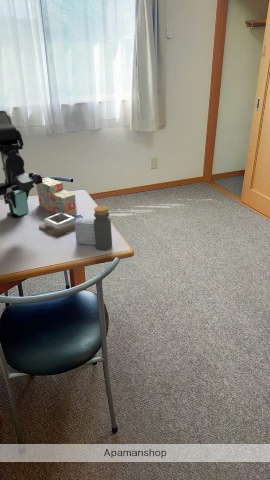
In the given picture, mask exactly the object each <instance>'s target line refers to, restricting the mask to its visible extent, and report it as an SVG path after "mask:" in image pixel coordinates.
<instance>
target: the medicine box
mask: <svg viewBox="0 0 270 480" xmlns="http://www.w3.org/2000/svg"><path fill="white" fill-rule="evenodd" d="M94 219H95V218H86V217H82V218H81V217H77V219H75V223H74V225H75V230H74V234H75V241H76V244H77V245H87V246H88V245H89V246H91V245H92V246H96V242H95V232H94Z"/></svg>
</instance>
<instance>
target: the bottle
mask: <svg viewBox="0 0 270 480" xmlns="http://www.w3.org/2000/svg"><path fill="white" fill-rule="evenodd" d="M93 210H94V213H93V216H94V218H93V219H94V232H95V242H96V245H95V248H96V250H98V251H101V252H105V251H109V250H112V248H113V236H112V235H113V234H112V220H111V218H109V216H110V212H109V211H108V210H109V207H108V206H106V205H97V206H95V207H94V208H93Z"/></svg>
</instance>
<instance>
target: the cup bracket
mask: <svg viewBox="0 0 270 480" xmlns="http://www.w3.org/2000/svg"><path fill="white" fill-rule="evenodd" d="M61 220H62V222H60V223H56V222H59V221H61ZM43 221H44V224H45V226H47V227H49V228H51V229H53V230H55V231H58V232H59V231H61V230H64V229H66V228H68V227H71V226H73V225H74V223H75V222H76V218H75V216H70V215H67V214H65V213H62V212H60V213H58V214H56V213H54V214H53V215H51V216H47V217H45V218H43Z"/></svg>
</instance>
